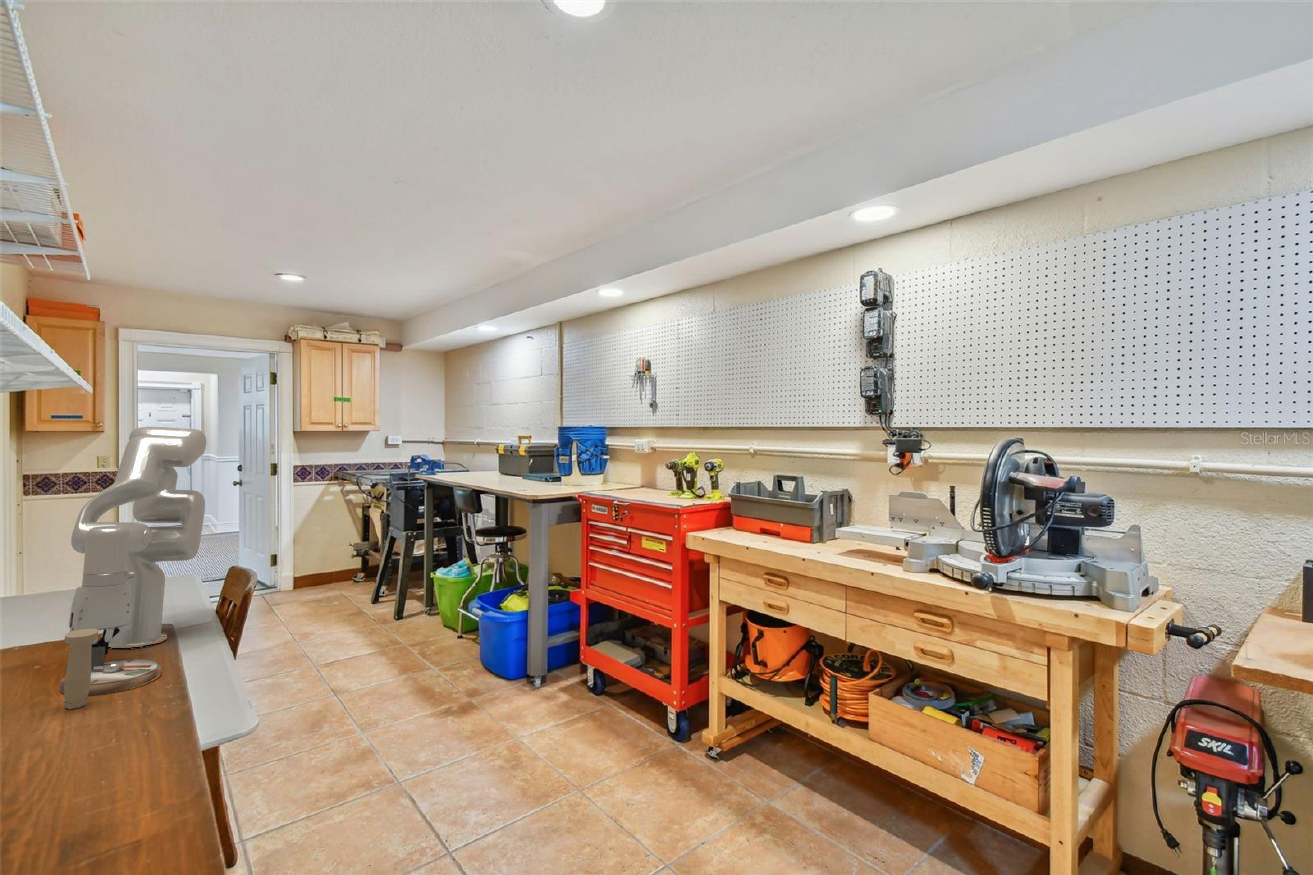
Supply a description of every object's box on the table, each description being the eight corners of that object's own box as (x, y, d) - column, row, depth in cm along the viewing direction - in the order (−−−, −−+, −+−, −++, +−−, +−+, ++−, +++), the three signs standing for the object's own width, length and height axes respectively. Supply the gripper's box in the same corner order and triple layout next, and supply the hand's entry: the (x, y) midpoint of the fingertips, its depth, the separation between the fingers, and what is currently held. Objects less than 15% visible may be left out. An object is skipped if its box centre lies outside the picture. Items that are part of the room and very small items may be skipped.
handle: (55, 715, 117) (62, 638, 118) (62, 703, 122) (68, 630, 123) (89, 709, 120) (95, 635, 121) (94, 699, 125) (100, 627, 126)
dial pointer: (154, 666, 138) (156, 643, 138) (145, 671, 135) (147, 648, 135) (81, 668, 135) (83, 645, 135) (70, 674, 131) (72, 650, 132)
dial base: (136, 693, 129) (137, 681, 129) (39, 698, 124) (40, 686, 124) (175, 666, 145) (176, 656, 145) (90, 670, 140) (91, 660, 141)
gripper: (140, 573, 146) (134, 648, 145) (55, 581, 133) (48, 664, 132) (150, 577, 141) (144, 655, 141) (64, 586, 129) (57, 671, 128)
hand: (97, 659), depth 136 cm, fingers closed
